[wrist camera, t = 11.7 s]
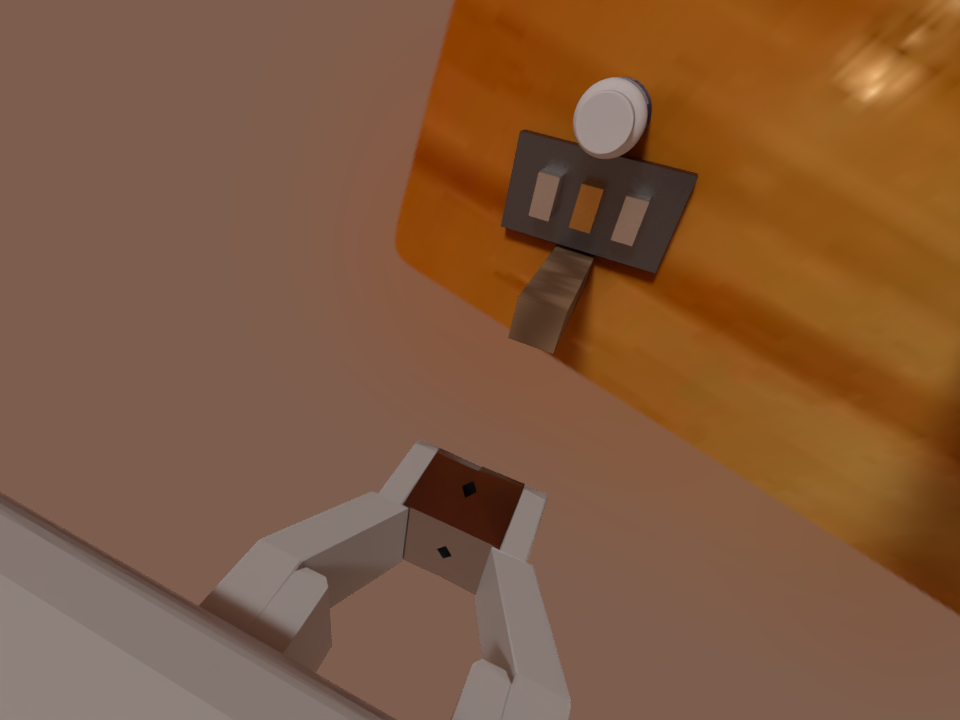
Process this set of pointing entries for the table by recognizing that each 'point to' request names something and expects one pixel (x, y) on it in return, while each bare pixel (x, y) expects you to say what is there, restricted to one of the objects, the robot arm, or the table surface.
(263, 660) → the robot arm
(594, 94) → the pill bottle
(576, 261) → the walnut post
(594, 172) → the breaker strip
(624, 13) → the table surface
